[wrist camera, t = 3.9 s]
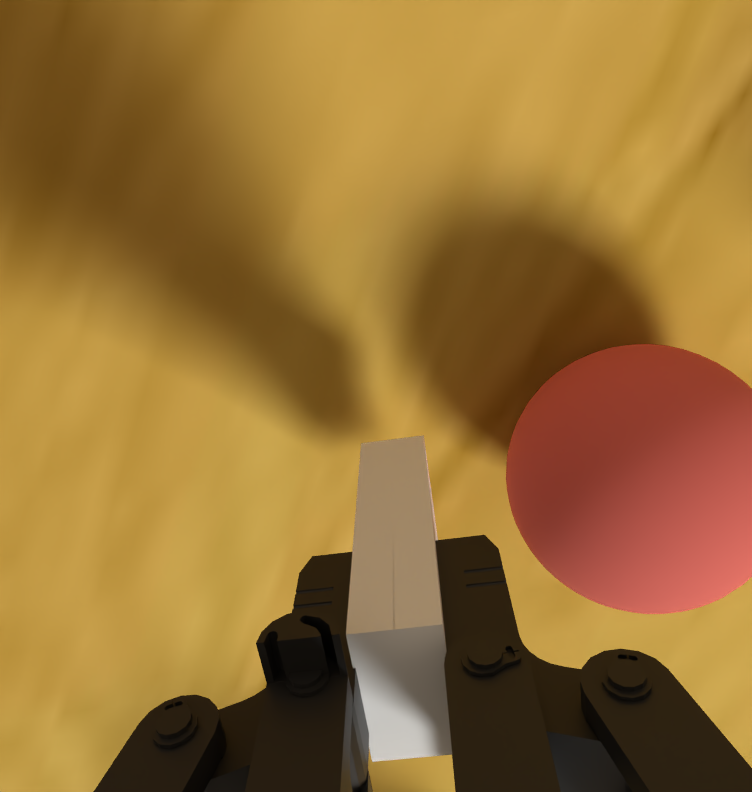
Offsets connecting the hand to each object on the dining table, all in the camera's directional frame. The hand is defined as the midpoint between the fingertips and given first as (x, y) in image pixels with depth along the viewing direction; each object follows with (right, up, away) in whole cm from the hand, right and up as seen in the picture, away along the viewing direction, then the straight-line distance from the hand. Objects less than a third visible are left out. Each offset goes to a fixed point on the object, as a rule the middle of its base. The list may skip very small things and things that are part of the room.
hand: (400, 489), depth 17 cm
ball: (+5, 0, -1) cm, 6 cm away
